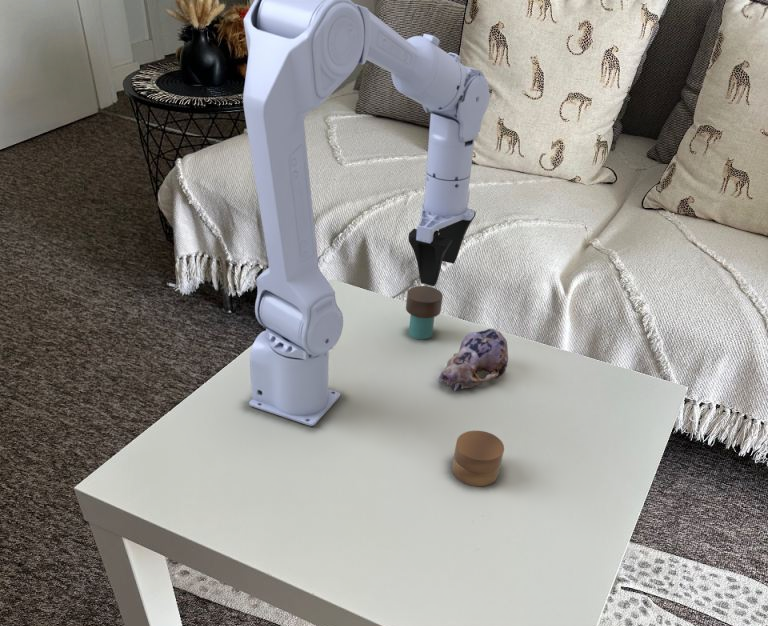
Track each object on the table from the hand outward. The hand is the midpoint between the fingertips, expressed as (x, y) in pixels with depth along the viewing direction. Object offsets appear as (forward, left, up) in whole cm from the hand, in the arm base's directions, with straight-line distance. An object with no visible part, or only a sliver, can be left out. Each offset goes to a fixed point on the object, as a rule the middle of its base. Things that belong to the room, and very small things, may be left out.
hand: (438, 272), depth 101 cm
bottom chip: (+16, -27, -10) cm, 33 cm away
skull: (+9, -7, -11) cm, 15 cm away
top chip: (+16, -27, -8) cm, 33 cm away
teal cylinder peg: (-2, 0, -10) cm, 10 cm away
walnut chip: (-2, 0, -6) cm, 6 cm away
